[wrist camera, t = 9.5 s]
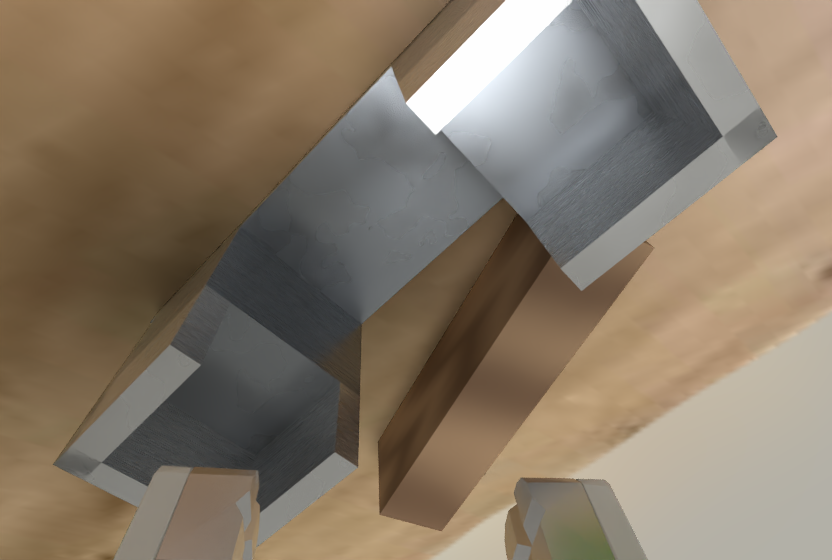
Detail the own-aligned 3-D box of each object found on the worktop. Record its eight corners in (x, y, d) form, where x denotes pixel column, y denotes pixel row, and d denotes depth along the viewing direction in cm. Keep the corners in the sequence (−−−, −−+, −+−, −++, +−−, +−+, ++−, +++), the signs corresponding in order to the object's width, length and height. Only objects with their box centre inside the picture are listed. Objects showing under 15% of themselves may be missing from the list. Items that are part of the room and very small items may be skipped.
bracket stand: (275, 392, 27) (232, 566, 19) (156, 313, 24) (44, 473, 16) (625, 77, 21) (795, 121, 13) (520, -74, 18) (646, -144, 10)
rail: (431, 455, 30) (441, 531, 26) (378, 438, 29) (379, 514, 25) (601, 203, 24) (654, 247, 19) (540, 172, 23) (581, 211, 18)
